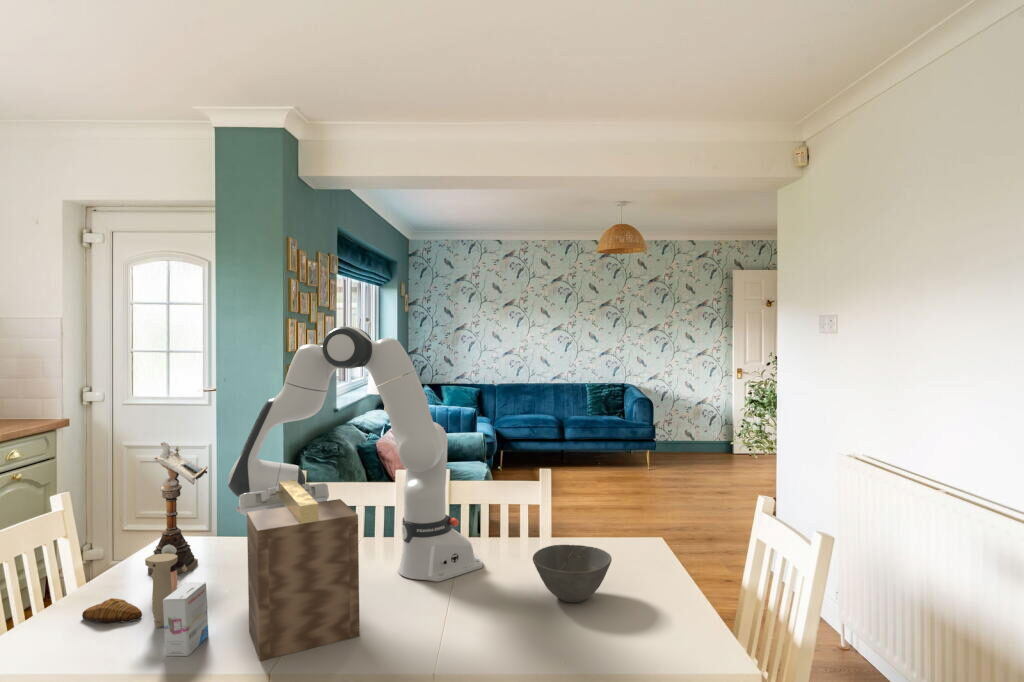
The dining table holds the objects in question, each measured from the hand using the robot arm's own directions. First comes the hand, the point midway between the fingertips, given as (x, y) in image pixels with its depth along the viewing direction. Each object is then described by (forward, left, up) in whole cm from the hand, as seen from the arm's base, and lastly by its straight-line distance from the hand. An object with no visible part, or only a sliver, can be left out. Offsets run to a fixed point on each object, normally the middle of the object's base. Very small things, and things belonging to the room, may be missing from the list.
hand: (289, 488), depth 150 cm
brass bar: (0, +9, -2) cm, 9 cm away
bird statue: (+20, -42, -28) cm, 54 cm away
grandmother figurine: (+24, -23, -28) cm, 44 cm away
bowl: (-60, +27, -28) cm, 72 cm away
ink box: (+22, +6, -28) cm, 37 cm away
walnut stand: (0, +13, -28) cm, 31 cm away
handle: (+26, -7, -28) cm, 39 cm away
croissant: (+36, -16, -29) cm, 49 cm away
